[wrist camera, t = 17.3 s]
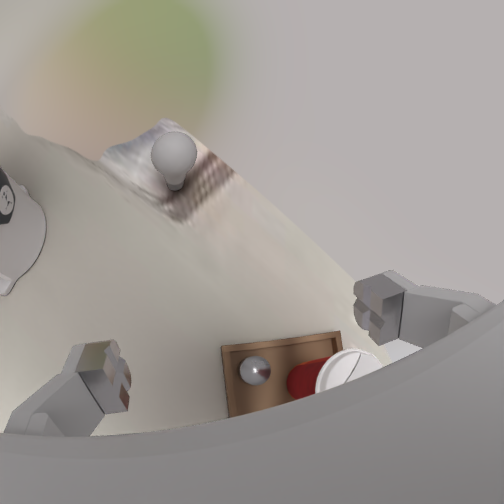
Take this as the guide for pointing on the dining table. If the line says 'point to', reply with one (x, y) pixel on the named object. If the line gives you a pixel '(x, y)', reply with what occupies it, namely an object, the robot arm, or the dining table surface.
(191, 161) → the lightbulb
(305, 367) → the paper cup
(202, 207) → the dining table surface
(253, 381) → the part
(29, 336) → the dining table surface
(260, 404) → the tray
